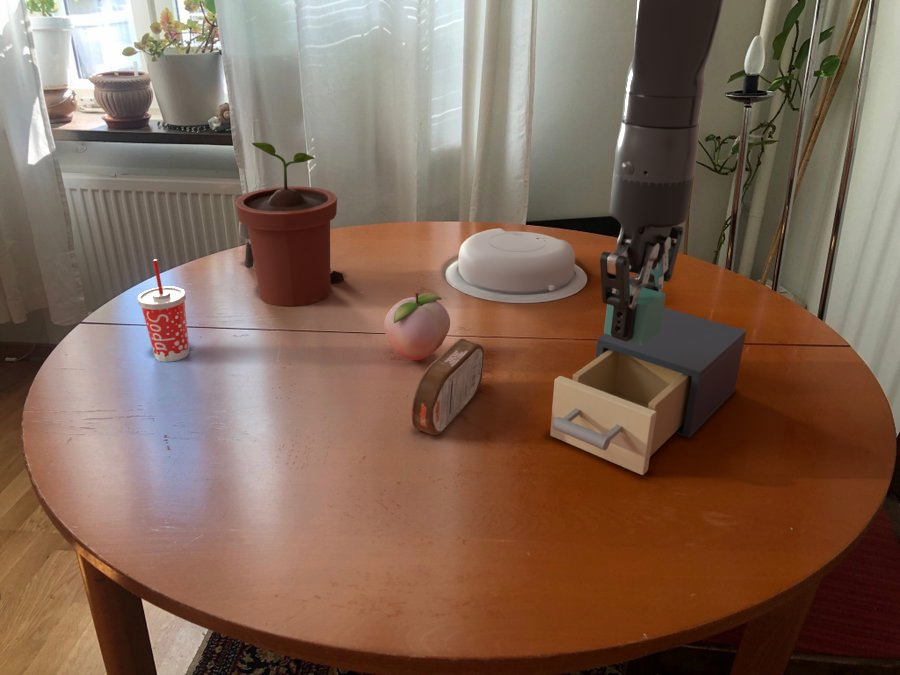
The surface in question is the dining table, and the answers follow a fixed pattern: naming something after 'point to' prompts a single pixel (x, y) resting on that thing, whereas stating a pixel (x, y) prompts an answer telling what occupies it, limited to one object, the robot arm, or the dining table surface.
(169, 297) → the beverage cup
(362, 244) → the dining table surface
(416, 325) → the decorative fruit
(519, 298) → the round ceiling alarm
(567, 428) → the drawer
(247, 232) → the potted plant
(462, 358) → the tin
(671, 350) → the cabinet
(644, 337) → the block
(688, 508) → the dining table surface
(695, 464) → the dining table surface
